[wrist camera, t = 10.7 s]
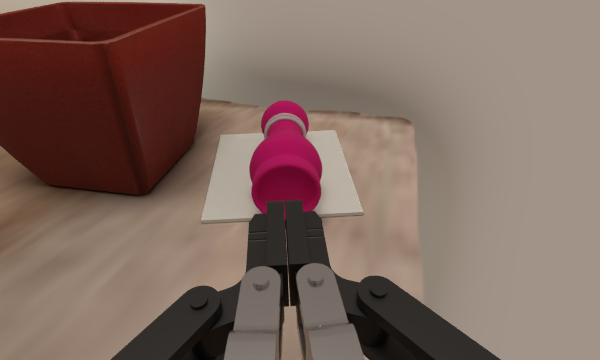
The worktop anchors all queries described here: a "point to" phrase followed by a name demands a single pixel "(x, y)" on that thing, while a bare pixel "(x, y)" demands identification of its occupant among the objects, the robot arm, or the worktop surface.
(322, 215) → the mat
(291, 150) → the pepper mill
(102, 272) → the worktop surface
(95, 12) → the plant pot
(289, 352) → the worktop surface
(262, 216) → the robot arm
